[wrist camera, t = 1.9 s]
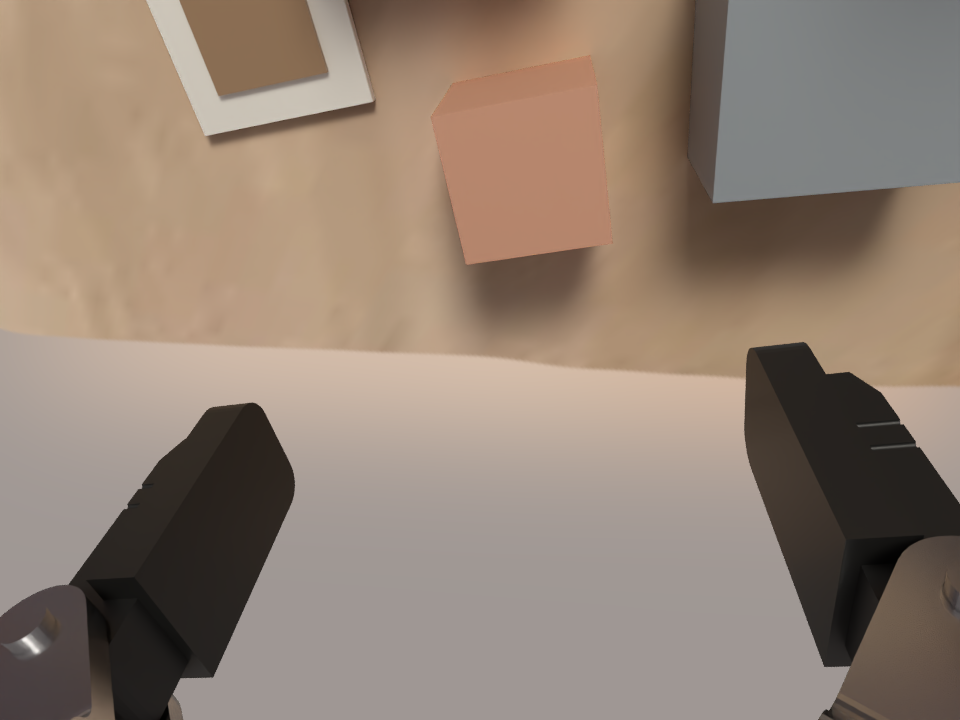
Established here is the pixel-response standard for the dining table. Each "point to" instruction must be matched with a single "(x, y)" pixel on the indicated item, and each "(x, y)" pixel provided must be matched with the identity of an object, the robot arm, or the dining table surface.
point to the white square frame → (263, 58)
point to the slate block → (824, 96)
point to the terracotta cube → (525, 161)
